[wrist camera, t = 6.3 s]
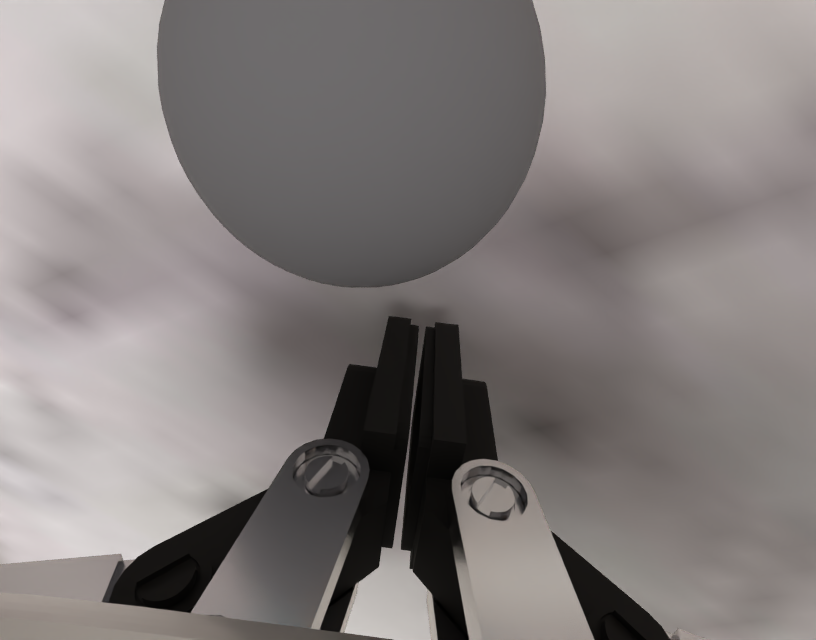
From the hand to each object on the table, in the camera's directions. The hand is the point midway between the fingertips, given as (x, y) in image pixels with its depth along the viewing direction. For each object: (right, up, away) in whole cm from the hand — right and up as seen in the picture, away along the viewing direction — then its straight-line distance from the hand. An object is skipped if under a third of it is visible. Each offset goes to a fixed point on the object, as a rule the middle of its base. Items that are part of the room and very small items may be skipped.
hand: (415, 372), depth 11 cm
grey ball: (-1, +5, -4) cm, 6 cm away
